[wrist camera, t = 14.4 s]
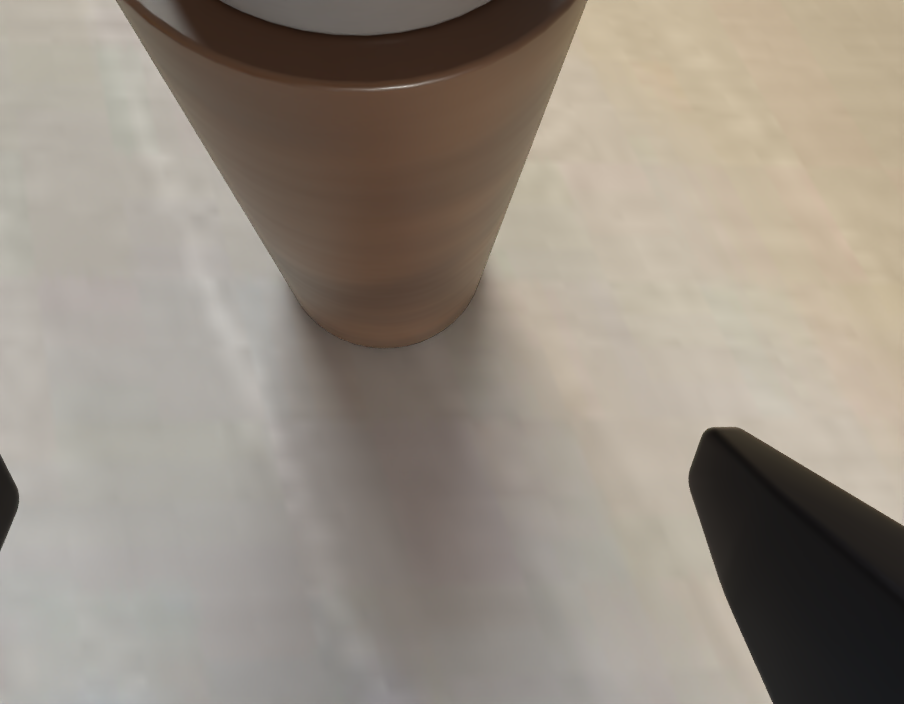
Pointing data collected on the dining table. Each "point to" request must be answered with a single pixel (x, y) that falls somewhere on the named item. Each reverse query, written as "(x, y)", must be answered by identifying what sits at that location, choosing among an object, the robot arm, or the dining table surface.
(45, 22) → the dining table surface
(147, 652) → the dining table surface
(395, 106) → the pepper mill
